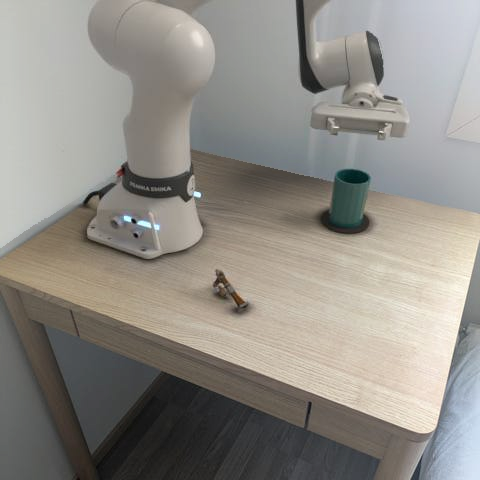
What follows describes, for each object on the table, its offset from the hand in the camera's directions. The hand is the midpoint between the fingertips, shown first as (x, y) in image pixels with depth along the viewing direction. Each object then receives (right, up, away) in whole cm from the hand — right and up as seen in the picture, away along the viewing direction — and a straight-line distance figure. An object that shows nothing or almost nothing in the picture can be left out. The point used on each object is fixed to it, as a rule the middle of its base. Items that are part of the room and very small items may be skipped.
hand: (358, 133), depth 98 cm
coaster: (-2, -17, +3) cm, 17 cm away
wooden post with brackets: (-26, -34, -16) cm, 46 cm away
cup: (-2, -17, +3) cm, 17 cm away
